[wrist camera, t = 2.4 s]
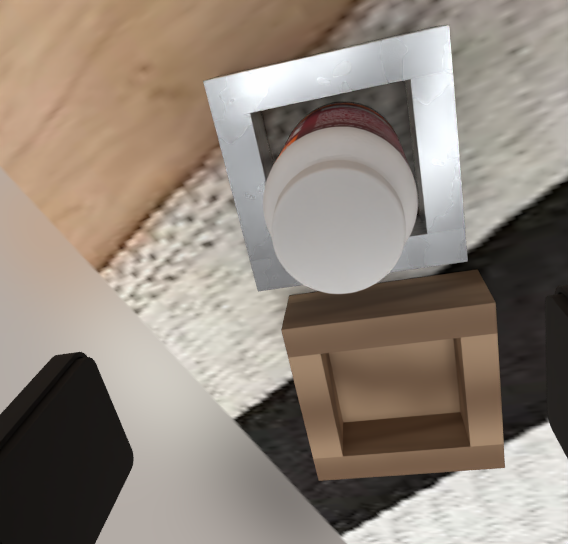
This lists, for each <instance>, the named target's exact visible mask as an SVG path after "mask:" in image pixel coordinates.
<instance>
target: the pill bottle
mask: <svg viewBox="0 0 568 544" xmlns="http://www.w3.org/2000/svg"><path fill="white" fill-rule="evenodd" d="M417 210H418V196H417V188H416V184H415V180H414V176H413V173H412V171H411V169H410V166H409V164H408V162H407V159H406V157H405V154H404V152H403V149H402V146H401V144H400V142H399V139H398V137H397V135H396V133H395V131H394V130H393V128H392V127H391V125H390V124H389V123H388V122H387V121H386V120H385V119H384V118H383V117H382V116H381V115H380V114H378V113H377V112H376V111H374V110H372V109H371V108H369V107H366V106H364V105H361V104H356V103H350V102H338V103H332V104H328V105H325V106H322V107H320V108H318V109H316V110H314V111H312V112H311V113H309V114H308V115H307V116H306V117H304V118H303V119H302V120H301V121H300V122H299V123H298V125H297V126H296V127H295V128H294V130H293V131H292V133H291V135H290V136H289V138H288V140H287V142H286V144H285V145H284V147H283V149H282V151H281V153H280V155H279V156H278V158H277V160H276V162H275V163H274V165H273V167H272V169H271V171H270V173H269V176H268V178H267V181H266V185H265V189H264V195H263V211H264V217H265V221H266V225H267V227H268V230H269V233H270V235H271V237H272V242H273V247H274V250H275V252H276V255H277V258H278V259H279V261H280V263H281V264H282V266H283V267H284V268H285V270H286V271H287V272H288V273H289V274H290V275H291V276H292V277H293V278H295V279H296V280H297V281H299V282H300V283H302V284H303V285H305V286H307V287H309V288H311V289H314V290H317V291H320V292H325V293H331V294H346V293H353V292H357V291H360V290H363V289H366V288H368V287H370V286H372V285H374V284H376V283H377V282H379V281H380V280H382V279H383V278H384V277H385V276H386V275H387V274H388V273H389V272H390V271H391V270H392V269H393V267H394V266H395V265H396V263H397V262H398V260H399V258H400V256H401V254H402V251H403V248H404V245H405V243H406V242H407V240H408V238H409V236H410V234H411V232H412V230H413V227H414V224H415V221H416V217H417Z"/></svg>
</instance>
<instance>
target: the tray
mask: <svg viewBox="0 0 568 544" xmlns="http://www.w3.org/2000/svg"><path fill="white" fill-rule="evenodd" d="M281 330H282V334H283V338H284V342H285V346H286V350H287V354H288V358H289V362H290V366H291V371H292V375H293V379H294V383H295V387H296V391H297V395H298V399H299V403H300V407H301V411H302V415H303V419H304V423H305V427H306V431H307V435H308V439H309V443H310V447H311V451H312V455H313V459H314V463H315V467H316V471H317V475H318V479H319V481H320V480H335V479H349V478H364V477H379V476H393V475H408V474H422V473H437V472H451V471H466V470H481V469H495V468H505V461H504V443H503V425H502V408H501V390H500V373H499V355H498V338H497V320H496V303H495V301H494V299H493V297H492V295H491V293H490V292H489V290H488V288H487V286H486V284H485V282H484V281H483V279H482V277H481V275H480V273H479V271H478V269H477V270H470V271H463V272H456V273H449V274H441V275H434V276H427V277H420V278H413V279H406V280H398V281H391V282H384V283H377V284H374V285H372V286H370V287H368V288H366V289H363V290H360V291H357V292H353V293H346V294H331V293H325V292H312V293H305V294H298V295H291V296H289V299H288V303H287V308H286V312H285V316H284V321H283V325H282V329H281Z"/></svg>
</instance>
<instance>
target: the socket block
mask: <svg viewBox="0 0 568 544" xmlns="http://www.w3.org/2000/svg"><path fill="white" fill-rule="evenodd" d="M403 80H405V87H406V96H407V105H408V113H409V122H410V131H411V140H412V148H413V157H414V166H415V175H416V184H417V192H418V201H419V210H420V215H417V217H416V221H415V224H414V227H413V230H412V232H411V234H410V236H409V238H408V240H407V242H406V243H405V245H404V248H403V251H402V254H401V256H400V258H399V260H398V262H397V263H396V265H395V266H394V267H393V269H392V270H391V271H390V272H397V271H404V270H411V269H418V268H425V267H432V266H439V265H446V264H453V263H460V262H467V261H468V259H467V246H466V234H465V221H464V208H463V195H462V183H461V170H460V157H459V144H458V132H457V119H456V106H455V93H454V81H453V68H452V55H451V42H450V29H449V25H443V26H435V27H431V28H427V29H422V30H418V31H414V32H409V33H405V34H401V35H396V36H392V37H387V38H383V39H379V40H374V41H370V42H366V43H361V44H357V45H353V46H348V47H344V48H339V49H335V50H331V51H326V52H322V53H318V54H313V55H309V56H305V57H300V58H296V59H291V60H287V61H283V62H278V63H274V64H270V65H265V66H261V67H257V68H252V69H248V70H243V71H239V72H235V73H230V74H226V75H222V76H218V77H215V78H212V79H209V80H206V81H203V82H204V86H205V90H206V94H207V97H208V101H209V105H210V109H211V113H212V117H213V120H214V124H215V128H216V132H217V136H218V140H219V143H220V147H221V151H222V155H223V159H224V163H225V166H226V170H227V174H228V178H229V182H230V186H231V190H232V193H233V197H234V201H235V205H236V209H237V213H238V216H239V220H240V224H241V228H242V232H243V236H244V239H245V243H246V247H247V251H248V255H249V259H250V262H251V266H252V270H253V274H254V278H255V282H256V286H257V289H258V291H264V290H271V289H278V288H285V287H292V286H299V285H303V284H302V283H300V282H299V281H297V280H296V279H295V278H293V277H292V276H291V275H290V274H289V273H288V272H287V271H286V270H285V268H284V267H283V266H282V264H281V263H280V261H279V259H278V258H277V255H276V252H275V250H274V247H273V242H272V237H271V235H270V233H269V230H268V227H267V225H266V221H265V217H264V211H263V195H264V189H265V185H266V181H267V178H268V176H269V173H270V171H271V169H272V167H273V161H272V157H271V153H270V148H269V144H268V139H267V135H266V130H265V126H264V121H263V117H262V112H261V110H266V109H271V108H276V107H280V106H285V105H290V104H294V103H299V102H304V101H309V100H313V99H318V98H323V97H327V96H332V95H337V94H342V93H346V92H351V91H356V90H360V89H365V88H370V87H375V86H379V85H384V84H389V83H393V82H398V81H403ZM390 272H389V273H390Z"/></svg>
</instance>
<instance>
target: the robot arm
mask: <svg viewBox="0 0 568 544" xmlns="http://www.w3.org/2000/svg"><path fill="white" fill-rule="evenodd" d="M545 318H546V376H547V414H548V419H549V423H550V426H551V428H552V430H553V432H554V434H555V436H556V438H557V440H558V442H559V443H560V445H561V447H562V449H563V451H564V453H565V455H566V456H567V458H568V285H565V286H558V287H557V288H556V291H555V295H548V296H547V297H546V300H545ZM132 466H133V451H132V449H131V446H130V444H129V441H128V439H127V437H126V434H125V432H124V429H123V427H122V425H121V422H120V420H119V417H118V415H117V413H116V410H115V408H114V406H113V403H112V401H111V399H110V396H109V394H108V391H107V389H106V386H105V384H104V382H103V379H102V377H101V375H100V372H99V370H98V368H97V365H96V363H95V361H94V360H93V359H92V358H90V357H87V356H86V355H85V354H84V353H82V352H76V353H69V354H62V355H55V356H54V357H53V358H51V360H50V361H49V362H48V363H47V364H46V365H45V366H44V367H43V368H42V370H40V372H39V373H38V374H37V375H36V376H35V377H34V378H33V379H32V381H30V383H29V384H28V385H27V386H26V387H25V388H24V389H23V390H22V391H21V393H20V394H19V395H18V396H17V397H16V398H15V399H14V400H13V401H12V402H11V403H10V405H9V406H8V407H7V408H6V409H5V410H4V411H3V412H2V413H1V414H0V544H95V543H96V540H97V538H98V536H99V534H100V532H101V530H102V528H103V526H104V524H105V522H106V520H107V518H108V516H109V514H110V512H111V510H112V508H113V506H114V504H115V502H116V500H117V497H118V495H119V493H120V491H121V489H122V487H123V485H124V483H125V481H126V479H127V477H128V475H129V473H130V471H131V469H132Z"/></svg>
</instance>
